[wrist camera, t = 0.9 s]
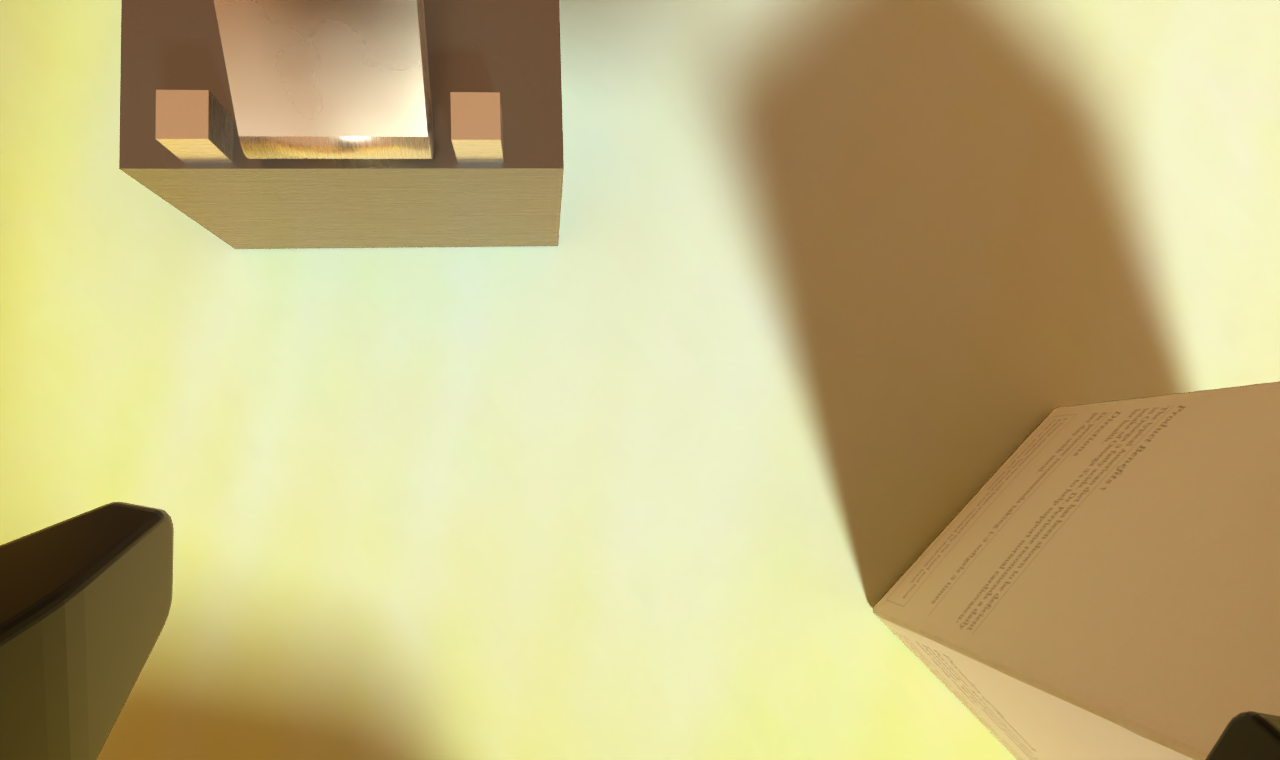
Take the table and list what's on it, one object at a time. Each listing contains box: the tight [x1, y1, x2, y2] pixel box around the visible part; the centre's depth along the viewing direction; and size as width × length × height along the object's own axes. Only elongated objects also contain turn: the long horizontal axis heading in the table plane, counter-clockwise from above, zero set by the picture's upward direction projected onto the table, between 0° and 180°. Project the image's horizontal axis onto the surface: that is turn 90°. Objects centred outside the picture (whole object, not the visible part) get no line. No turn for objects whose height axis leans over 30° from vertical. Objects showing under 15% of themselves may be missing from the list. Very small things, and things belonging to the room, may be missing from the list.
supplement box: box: [873, 382, 1280, 760], centre depth 17 cm, size 7×7×13 cm
